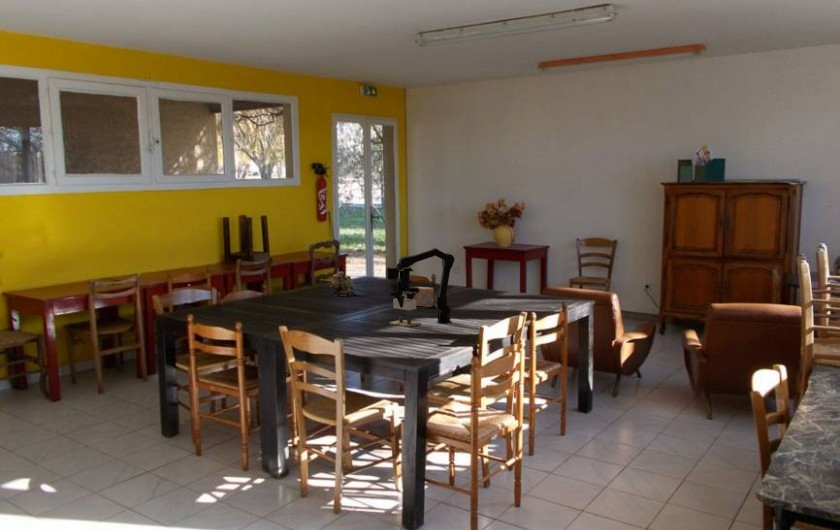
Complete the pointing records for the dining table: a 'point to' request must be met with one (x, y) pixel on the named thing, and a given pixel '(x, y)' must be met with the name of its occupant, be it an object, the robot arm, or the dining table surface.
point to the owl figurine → (342, 284)
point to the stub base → (404, 322)
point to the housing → (405, 304)
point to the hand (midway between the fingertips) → (405, 306)
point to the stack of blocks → (424, 297)
